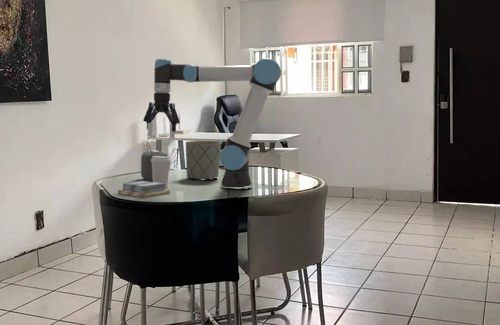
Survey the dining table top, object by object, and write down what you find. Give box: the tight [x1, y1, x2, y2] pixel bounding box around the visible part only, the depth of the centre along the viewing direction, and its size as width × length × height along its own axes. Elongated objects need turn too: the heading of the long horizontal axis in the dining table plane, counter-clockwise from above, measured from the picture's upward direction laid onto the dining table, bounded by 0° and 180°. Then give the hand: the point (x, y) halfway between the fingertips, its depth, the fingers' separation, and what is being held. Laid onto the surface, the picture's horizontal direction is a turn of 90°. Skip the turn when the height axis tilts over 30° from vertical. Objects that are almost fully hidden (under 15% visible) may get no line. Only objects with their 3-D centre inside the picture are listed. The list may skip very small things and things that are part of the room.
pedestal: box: [117, 180, 170, 199], centre depth 253 cm, size 16×16×4 cm
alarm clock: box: [140, 149, 169, 182], centre depth 295 cm, size 16×11×16 cm
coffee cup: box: [151, 156, 172, 190], centre depth 271 cm, size 10×10×15 cm
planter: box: [185, 140, 222, 180], centre depth 308 cm, size 19×19×20 cm
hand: (160, 137), depth 269 cm, fingers open, 13 cm apart
